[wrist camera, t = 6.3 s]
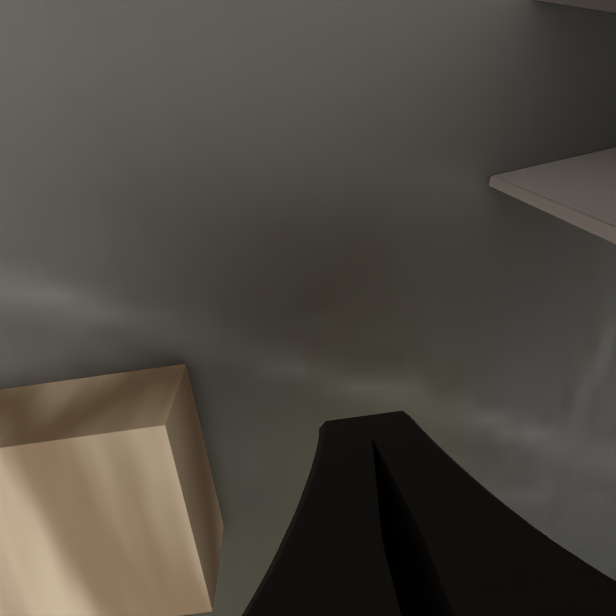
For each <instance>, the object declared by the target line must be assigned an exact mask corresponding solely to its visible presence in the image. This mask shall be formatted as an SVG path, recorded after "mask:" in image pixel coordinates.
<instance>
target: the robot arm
mask: <svg viewBox="0 0 616 616" xmlns="http://www.w3.org/2000/svg"><path fill="white" fill-rule="evenodd" d="M242 616H616V581H614V580H613V579H611V578H609V577H608V576H606V575H604V574H603V573H601V572H599V571H598V570H596V569H595V568H593V567H592V566H590V565H589V564H587V563H586V562H584V561H583V560H581V559H580V558H578V557H576V556H575V555H573V554H572V553H570V552H569V551H567V550H566V549H564V548H563V547H561V546H560V545H558V544H557V543H555V542H554V541H552V540H551V539H549V538H548V537H547V536H545V535H544V534H543V533H541V532H540V531H538V530H537V529H536V528H534V527H533V526H532V525H530V524H529V523H528V522H527V521H525V520H524V519H523V518H521V517H520V516H519V515H517V514H516V513H515V512H514V511H512V510H511V509H510V508H508V507H507V506H506V505H505V504H503V503H502V502H501V501H500V500H499V499H497V498H496V497H495V496H494V495H492V494H491V493H490V492H489V491H488V490H486V489H485V488H484V487H483V486H482V485H481V484H480V483H479V482H477V481H476V480H475V479H474V478H473V477H472V476H471V475H469V474H468V473H467V472H466V471H465V470H464V469H463V468H461V467H460V466H459V465H458V464H457V463H456V462H455V461H454V460H453V459H452V458H451V457H449V456H448V455H447V454H446V453H445V452H444V451H443V450H442V449H441V448H440V447H439V446H438V445H437V444H436V443H435V442H434V441H433V440H432V439H431V438H430V437H429V436H428V435H427V434H426V433H425V432H424V431H423V430H422V429H421V428H420V427H419V426H418V425H417V423H416V422H415V421H414V420H413V419H412V418H411V417H410V416H409V415H407V414H406V413H405V412H404V411H397V412H390V413H383V414H375V415H368V416H361V417H353V418H346V419H338V420H331V421H326V422H325V423H324V424H323V425H322V426H321V427H320V428H319V440H318V445H317V450H316V454H315V458H314V461H313V464H312V468H311V471H310V474H309V477H308V480H307V482H306V485H305V488H304V491H303V493H302V496H301V499H300V501H299V504H298V507H297V509H296V512H295V514H294V516H293V518H292V521H291V523H290V525H289V527H288V529H287V531H286V534H285V536H284V538H283V540H282V542H281V544H280V547H279V549H278V551H277V553H276V555H275V557H274V559H273V561H272V563H271V565H270V567H269V569H268V571H267V573H266V574H265V576H264V578H263V580H262V582H261V584H260V585H259V587H258V589H257V591H256V592H255V594H254V596H253V597H252V599H251V601H250V603H249V604H248V606H247V608H246V609H245V611H244V613H243V614H242Z"/></svg>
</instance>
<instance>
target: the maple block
mask: <svg viewBox="0 0 616 616" xmlns="http://www.w3.org/2000/svg"><path fill="white" fill-rule="evenodd" d="M223 529H224V525H223V521H222V516H221V512H220V508H219V503H218V499H217V495H216V490H215V486H214V481H213V477H212V473H211V468H210V464H209V460H208V455H207V451H206V447H205V442H204V438H203V434H202V429H201V425H200V420H199V416H198V412H197V407H196V403H195V399H194V394H193V390H192V386H191V381H190V377H189V373H188V368H187V364H180V365H173V366H166V367H158V368H151V369H144V370H137V371H130V372H122V373H115V374H108V375H101V376H94V377H86V378H79V379H72V380H65V381H58V382H50V383H43V384H36V385H29V386H22V387H14V388H7V389H0V616H182V615H189V614H197V613H204V612H211V611H213V604H214V596H215V589H216V581H217V574H218V566H219V559H220V551H221V544H222V536H223Z"/></svg>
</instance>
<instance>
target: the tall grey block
mask: <svg viewBox="0 0 616 616" xmlns="http://www.w3.org/2000/svg"><path fill="white" fill-rule="evenodd" d="M537 1H543V2H549V3H556V4H562V5H568V6H574V7H580V8H587V9H593V10H599V11H605V12H611V13H616V0H537ZM488 186H490V187H493V188H495V189H497V190H499V191H501V192H503V193H506V194H508V195H510V196H512V197H514V198H516V199H519V200H521V201H523V202H525V203H527V204H529V205H532V206H534V207H536V208H538V209H540V210H542V211H545V212H547V213H549V214H551V215H553V216H556V217H558V218H560V219H562V220H564V221H566V222H569V223H571V224H573V225H575V226H577V227H579V228H582V229H584V230H586V231H588V232H590V233H592V234H595V235H597V236H599V237H601V238H603V239H605V240H608V241H610V242H612V243H614V244H616V147H614V148H610V149H606V150H601V151H597V152H593V153H588V154H584V155H580V156H575V157H571V158H567V159H562V160H558V161H554V162H549V163H545V164H541V165H536V166H532V167H528V168H523V169H519V170H514V171H510V172H506V173H501V174H497V175H493V176H491V177H490V181H489V185H488Z"/></svg>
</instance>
